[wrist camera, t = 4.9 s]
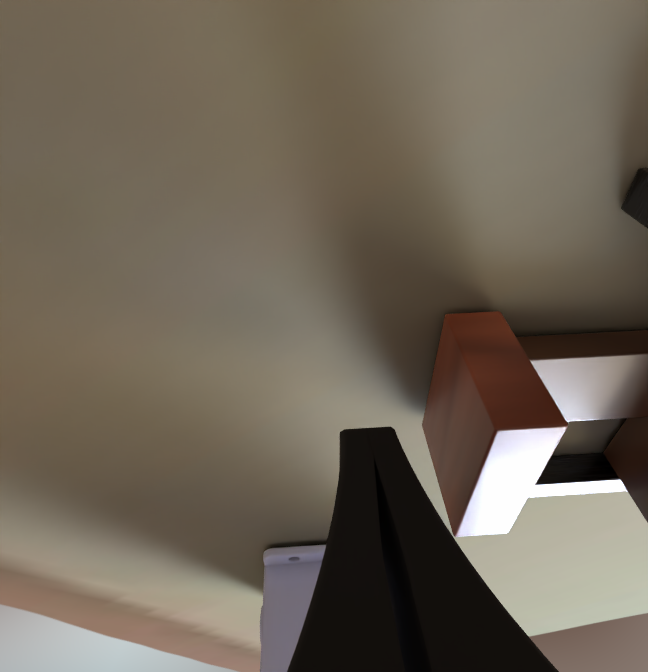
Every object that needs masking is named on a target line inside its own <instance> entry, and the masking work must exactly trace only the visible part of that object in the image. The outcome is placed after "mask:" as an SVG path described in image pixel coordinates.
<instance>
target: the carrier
mask: <svg viewBox="0 0 648 672" xmlns="http://www.w3.org/2000/svg"><path fill="white" fill-rule="evenodd" d="M618 418H627V419H626V421H625V422H624V424H623V425H622V427H621V428H620V429H619V431H618V432H617V434H616V435H615V437H614V438H613V440H612V441H611V442H610V444H609V445H608V447H607V448H606V450H605V451H604V455H605V456H606V458H607V460H608V461H609V463H610V464H611V466H612V467H613V469H614V471H615V472H616V474H617V475H618V477H619V478H620V480H621V482H622V483H623V485H624V486H625V488H626V489H627V491H628V493H629V494H630V496H631V497H632V499H633V500H634V502H635V503H636V505H637V507H638V508H639V510H640V511H641V513H642V514H643V516H644V518H645V519H646V521H647V522H648V330H639V331H620V332H601V333H582V334H562V335H543V336H524V337H516V336H515V335H514V333H513V331H512V330H511V328H510V326H509V325H508V323H507V321H506V320H505V318H504V316H503V315H502V313H501V312H499V311H495V312H475V313H455V314H446V315H445V318H444V323H443V328H442V332H441V337H440V342H439V347H438V351H437V356H436V361H435V366H434V371H433V375H432V380H431V385H430V390H429V394H428V399H427V404H426V409H425V413H424V418H423V423H422V427H423V430H424V434H425V437H426V441H427V444H428V448H429V451H430V455H431V458H432V462H433V465H434V469H435V472H436V476H437V479H438V483H439V486H440V490H441V493H442V497H443V500H444V504H445V507H446V511H447V514H448V518H449V521H450V525H451V528H452V532H453V535H454V536H455V537H459V536H474V535H488V534H503V533H508V532H509V530H510V529H511V527H512V525H513V523H514V522H515V520H516V518H517V516H518V514H519V513H520V511H521V509H522V507H523V506H524V504H525V502H526V500H527V498H528V497H529V495H530V493H531V491H532V490H533V488H534V486H535V484H536V483H537V481H538V479H539V477H540V475H541V474H542V472H543V470H544V468H545V467H546V465H547V463H548V461H549V459H550V458H551V456H552V454H553V452H554V451H555V449H556V447H557V445H558V444H559V442H560V440H561V438H562V436H563V435H564V433H565V431H566V429H567V428H568V423H567V421H583V420H601V419H618Z"/></svg>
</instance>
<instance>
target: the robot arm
mask: <svg viewBox="0 0 648 672" xmlns="http://www.w3.org/2000/svg"><path fill="white" fill-rule="evenodd" d="M263 561H264V565H265V568H264V591H263V606H262V608H261V616H260V641H261V661H260V672H559V671H558V670H557V669H556V668H555V667H554V666H553V665H552V664H551V663H550V661H548V659H547V658H546V657H545V656H544V655H543V653H542V652H541V651H540V650H539V649H538V647H536V645H535V644H534V643H533V642H532V641H531V639H530V638H529V637H528V636H527V634H526V633H525V632H524V631H523V630H522V628H521V627H520V626H519V625H518V624H517V622H516V621H515V620H514V619H513V618H512V616H511V615H510V614H509V613H508V612H507V610H506V609H505V608H504V607H503V605H502V604H501V603H500V601H499V600H498V599H497V598H496V596H495V595H494V594H493V592H492V591H491V590H490V589H489V587H488V586H487V585H486V583H485V582H484V581H483V579H482V578H481V577H480V575H479V574H478V572H477V571H476V570H475V568H474V567H473V566H472V564H471V563H470V561H469V560H468V559H467V557H466V556H465V554H464V553H463V551H462V550H461V548H460V547H459V546H458V544H457V543H456V541H455V539H454V538H453V536H452V535H451V533H450V532H449V530H448V529H447V527H446V526H445V524H444V523H443V521H442V519H441V518H440V516H439V515H438V513H437V511H436V510H435V508H434V506H433V504H432V503H431V501H430V499H429V498H428V496H427V494H426V493H425V491H424V489H423V487H422V486H421V484H420V482H419V480H418V478H417V476H416V475H415V473H414V471H413V469H412V467H411V465H410V463H409V461H408V459H407V457H406V455H405V453H404V451H403V449H402V446H401V444H400V442H399V439H398V437H397V435H396V432H395V430H394V429H393V428H392V427H378V428H361V429H345V430H343V431H341V432H340V471H339V481H338V487H337V494H336V500H335V506H334V512H333V517H332V521H331V526H330V530H329V535H328V539H327V544H326V545H312V546H297V547H282V548H271V549H267V550H266V551H265V552H264V554H263Z"/></svg>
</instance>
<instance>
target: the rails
mask: <svg viewBox="0 0 648 672" xmlns="http://www.w3.org/2000/svg"><path fill="white" fill-rule="evenodd" d="M621 209H622V210H623V211H625V212H626V213H627V214H629V215H630V216H631V217H633V218H634V219H635V220H637V221H638V222H639V223H641V224H642V225H643V226H645V227H646V228H647V229H648V168H640V169H639V170H638V172H637V174H636V176H635V178H634V181H633V183H632V185H631V187H630V190H629V192H628V194H627V196H626V198H625V201H624V203H623V205H622V207H621ZM618 491H627V489H626V488H625V486H624V485H623V483H622V482H621V480H620V478H619V477H618V475H617V474H616V472H615V471H614V469H613V467H612V466H611V464H610V463H609V461H608V460H607V458H606V456H605V455H604V453H597V454H581V455H565V456H551V458H550V459H549V461H548V463H547V465H546V467H545V468H544V470H543V472H542V474H541V475H540V477H539V479H538V481H537V483H536V484H535V486H534V488H533V490H532V491H531V493H530V495H529V497H541V496H556V495H572V494H587V493H603V492H618Z"/></svg>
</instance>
